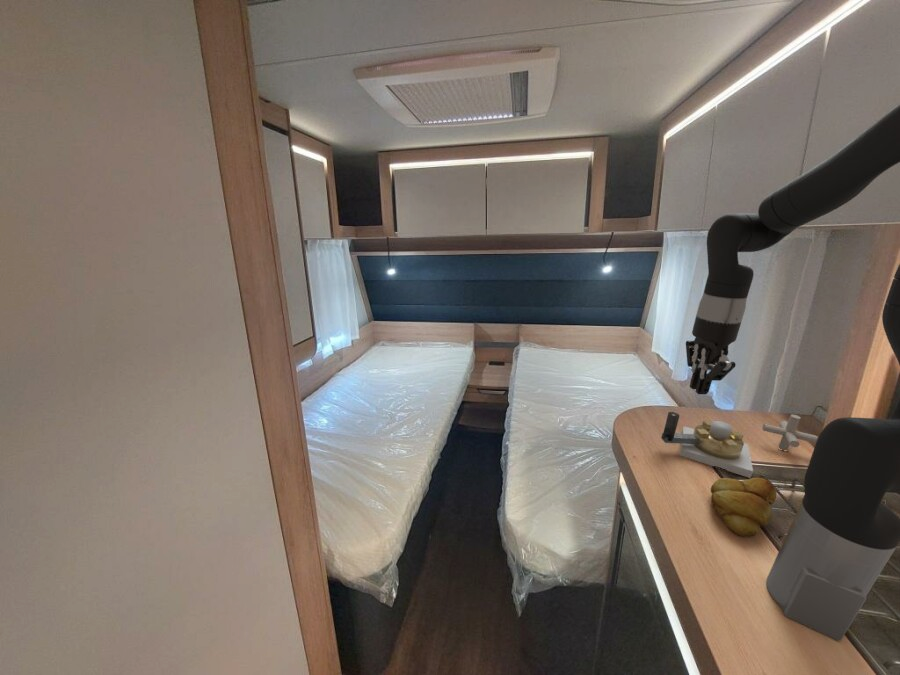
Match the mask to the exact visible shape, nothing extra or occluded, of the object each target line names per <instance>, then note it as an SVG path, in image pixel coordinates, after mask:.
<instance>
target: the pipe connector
mask: <svg viewBox="0 0 900 675" xmlns="http://www.w3.org/2000/svg"><path fill="white" fill-rule="evenodd" d="M800 420H801V417H800V416H799V415H796V414H790V417H789V418H788V421H787V420H781V421H780V422H779V424H778V425H779V426H780V427H779V426H776V425H772V424H771V425H770V424H767V423H763V424H762V431H763V432H767V433H768V432H769V433H770V434H771V433H772V434H776V435H780V436H781V439H780V441H779V444H778V446H777V448H778V447H779V448H780V449H782V450H787V451H788V450H789V448H790V447H792V448H798V447H799V446H800V442H799V440H802V441H806V442H809V443H813V444H816V442H817V439H818V437H819V436H817V435H814V434H810V433H807V432H802V431H797V428H798V426H799V423H800Z"/></svg>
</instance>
